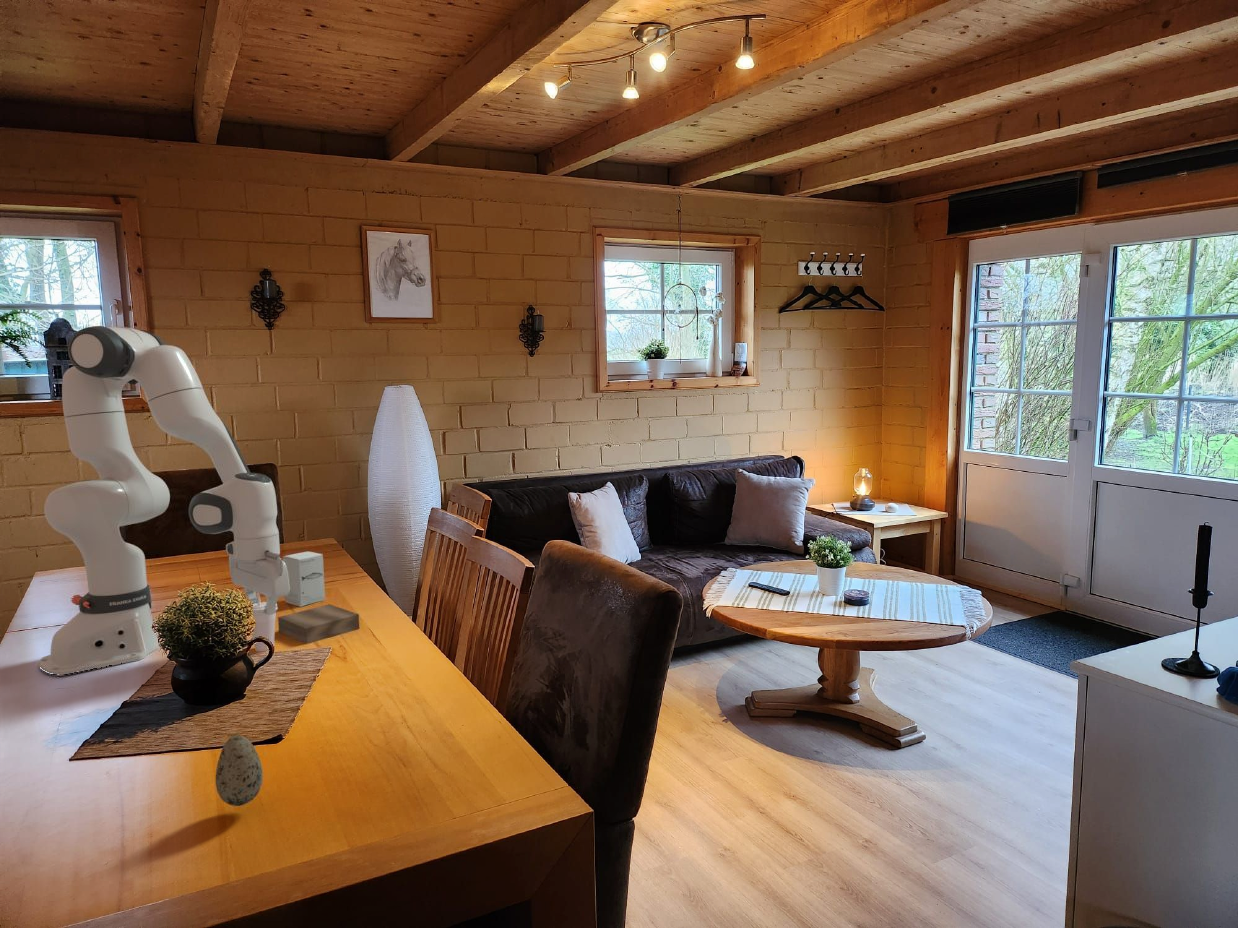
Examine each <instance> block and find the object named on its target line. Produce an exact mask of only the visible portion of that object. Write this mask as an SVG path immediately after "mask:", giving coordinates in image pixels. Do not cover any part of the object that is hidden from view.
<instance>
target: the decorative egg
mask: <svg viewBox="0 0 1238 928" xmlns="http://www.w3.org/2000/svg"><path fill="white" fill-rule="evenodd" d="M263 773H264V772H263V765H262V761H261V760H260V757H259V754H258V752H257V749H256V748H255V747H254V745H253V744H252V741H250V739H248V738H247V737H245V736H244V735H242V734H241V735H240V734H234V735H231V737H230V738H228V740H227V741H225V744H224V745H223V747H222V749H221V751H220V755H219V756H218V760H217V765H216V770H215V787H216V791H217V794H218V796H219V797H220V799H221V800H222V801H223V802H224V803H226V804H227V805H230V806H233V807H241V806H244V805H246V804H249V803H250V802H252V801H253V800H254V799H255V797H257V796H258V794H259V792H260V790H261V788H262V785H263V779H264V774H263Z"/></svg>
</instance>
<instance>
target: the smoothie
mask: <svg viewBox="0 0 1238 928" xmlns="http://www.w3.org/2000/svg"><path fill="white" fill-rule="evenodd" d="M256 596H257V600H258V603H254V604H253V609H252V612H253V616H254V619H255V622H256V624H255V628H254V634H253V635H252V634H251V637H252V640H253V639H254V638H255V637H259V636H262V637H265V638H267V639H269V641H271V642H272V644H273V646H274V647H275V632H276V618H277V612H276V613H275V614H271V615H269V614H266V613H265V609H264V606H266V603H267V601H262V602H261V593H258V592H256ZM277 610H278V603H276V611H277ZM253 646H254V650H255V651H256V652H259V653H260V652H261V653H263V652H267V651H268V649H267V646H266V645H265V644H264V643H262V642H258V643H256V644H254V643H253Z"/></svg>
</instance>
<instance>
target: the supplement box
mask: <svg viewBox="0 0 1238 928" xmlns="http://www.w3.org/2000/svg"><path fill="white" fill-rule="evenodd" d="M323 556H324V555H323V553H318V552H313V551H303V552H298V553H293V554H288V555H283V556H282V560H283V561H284V562H285V564H286V566H287V571H288V577H289V585H290V591H289V594H288V595H287V596H284V598H285V603H286V604H289V605H294V606H296V607H299V608H302V607H304V606H307V605H311V604H315V603H319V602H323V601H326V593H325V591H326V590H325V574H324V573H325V572H324V557H323Z"/></svg>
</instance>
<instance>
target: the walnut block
mask: <svg viewBox="0 0 1238 928" xmlns="http://www.w3.org/2000/svg"><path fill="white" fill-rule="evenodd" d="M277 623H278V624H277V625H278V632H279V634H282V635H285V636H286V637H290V638H292V639H295V640H297V641H299V642H301V643H304V644H305V645H306V644H307V645H308V644H312V643H315V642H319V641H322V640H326V639H329V638H330V639H331V638H333V637H337V636H340V635H343V634H347V633H348V634H349V633H350V632H354V631H357V630H360V614H359V613H356V612H353V611H350V610H347V609H345V608H341V607H339V606H335V605H333V604H330V603H329V604H325V605H321V606H316V607H313V608H310V609H305V610H302V611H297V612H294V613H289V614H286V615H282V616H278V617H277Z"/></svg>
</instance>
